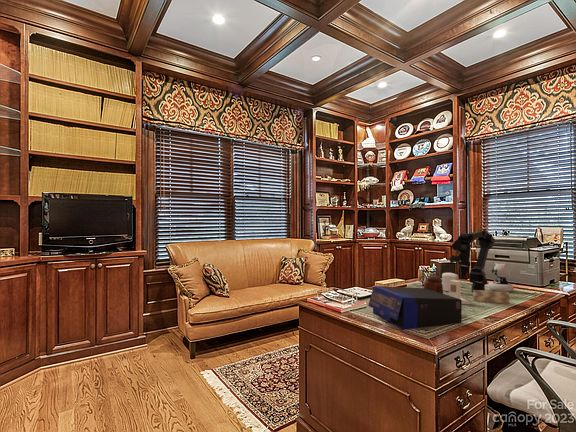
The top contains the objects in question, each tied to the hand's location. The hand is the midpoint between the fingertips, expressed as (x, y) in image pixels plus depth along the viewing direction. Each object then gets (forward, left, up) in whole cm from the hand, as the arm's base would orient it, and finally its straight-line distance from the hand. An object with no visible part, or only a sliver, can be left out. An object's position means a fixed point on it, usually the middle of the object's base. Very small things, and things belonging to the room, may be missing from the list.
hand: (462, 278), depth 196 cm
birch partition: (-12, +10, -12) cm, 19 cm away
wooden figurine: (+27, +27, -12) cm, 40 cm away
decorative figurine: (-35, -21, -12) cm, 42 cm away
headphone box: (+44, +44, -12) cm, 64 cm away
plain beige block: (+9, +11, -11) cm, 18 cm away
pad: (+9, +11, -12) cm, 19 cm away
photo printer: (+1, -14, -12) cm, 19 cm away
